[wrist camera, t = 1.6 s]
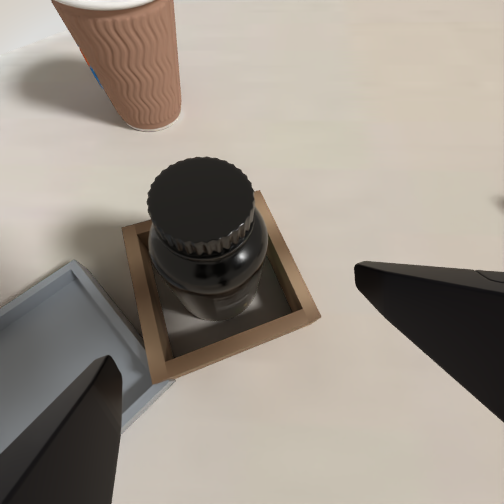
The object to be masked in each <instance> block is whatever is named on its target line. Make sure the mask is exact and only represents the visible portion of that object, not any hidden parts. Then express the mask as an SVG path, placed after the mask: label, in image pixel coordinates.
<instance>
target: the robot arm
mask: <svg viewBox="0 0 504 504" xmlns="http://www.w3.org/2000/svg"><path fill="white" fill-rule="evenodd" d="M354 273H355V284H356V287H357V288H358V290H359V291H360V292H361V293H362V294H363V295H364V296H365V297H366V298H367V299H368V301H369V302H370V303H371V304H372V305H373V306H374V307H375V308H376V309H377V310H378V311H379V312H380V313H381V314H382V315H383V316H384V317H385V318H386V319H387V320H388V321H389V322H390V323H391V324H392V325H394V326H395V327H396V328H397V329H398V330H399V331H400V332H401V333H403V334H404V335H405V336H406V337H407V338H408V339H409V340H411V341H412V342H413V343H414V344H415V345H416V346H417V347H419V348H420V349H421V350H422V351H423V352H424V353H425V354H426V355H428V356H429V357H430V358H431V359H432V360H433V361H434V362H436V363H437V364H438V365H439V366H440V367H441V368H442V369H444V370H445V371H446V372H447V373H448V374H449V375H450V376H451V377H453V378H454V379H455V380H456V381H457V382H458V383H459V384H461V385H462V386H463V387H464V388H465V389H466V390H467V391H468V392H470V393H471V394H472V395H473V396H474V397H475V398H476V399H478V400H479V401H480V402H481V403H482V404H483V405H484V406H486V407H487V408H488V409H489V410H490V411H491V412H492V413H493V414H495V415H496V416H497V417H498V418H499V419H500V420H501V421H503V422H504V272H496V271H483V270H475V271H474V270H470V269H458V268H445V267H433V266H421V265H408V264H396V263H384V262H371V261H363V262H360V263H358V264H356V265H355V267H354ZM122 388H123V379H122V375H121V372H120V370H119V369H118V367H117V365H116V363H115V361H114V360H113V358H112V357H111V356H110V355H105V356H103V357H100V358H97V359H95V360H94V361H93V362H92V363H91V364H90V365H89V366H88V367H87V368H86V369H85V370H84V371H83V372H82V373H81V374H80V375H79V376H78V377H77V378H76V379H75V380H74V381H73V382H72V383H71V384H70V385H69V386H68V387H67V388H66V389H65V390H64V391H63V392H62V393H61V394H60V395H59V396H58V397H57V398H56V399H55V400H54V401H53V402H52V403H51V404H50V405H49V406H48V407H47V408H46V409H45V410H44V411H43V412H42V413H41V414H40V415H39V416H38V417H37V418H36V419H35V420H34V421H33V422H32V423H31V424H30V425H29V426H28V427H27V428H26V429H25V430H24V431H23V432H22V433H21V434H20V435H19V436H18V437H17V438H16V439H15V440H14V441H13V442H12V443H11V444H10V445H9V446H8V447H7V448H6V449H5V450H4V451H3V452H2V453H1V454H0V504H111V503H112V496H113V488H114V481H115V474H116V466H117V459H118V452H119V444H120V437H121V426H122Z"/></svg>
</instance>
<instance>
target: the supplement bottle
mask: <svg viewBox="0 0 504 504" xmlns="http://www.w3.org/2000/svg"><path fill="white" fill-rule="evenodd" d="M147 205H148V213H149V215H150V217H151V221H152V225H151V228H150V232H149V239H148V246H149V253H150V257H151V260H152V262H153V264H154V266H155V268H156V270H157V271H158V273H159V274H160V275H161V277H162V278H163V279H164V281H165V282H166V283H167V285H168V286H169V287H170V289H171V290H172V291H173V293H174V294H175V295H176V296H177V298H178V299H179V300H180V302H181V303H182V304H183V306H184V307H185V308H186V309H187V310H188V311H189V312H190V313H192V314H193V315H195V316H197V317H198V318H201V319H204V320H208V321H224V320H228V319H231V318H234V317H236V316H237V315H239V314H241V313H242V312H243V311H244V310H245V309H246V308H247V307H248V306H249V305H250V304H251V302H252V301H253V299H254V297H255V294H256V292H257V288H258V285H259V281H260V277H261V273H262V269H263V265H264V261H265V257H266V253H267V247H268V232H267V228H266V224H265V221H264V219H263V217H262V215H261V214H260V212H259V211H258V209H257V208H256V207H255V198H254V190H253V188H252V184H251V182H250V181H249V180H248V178H247V176H246V175H245V174H243V173H242V171H241V170H240V169H238V168H236V167H235V166H234V165H233V164H230V163H228V162H227V161H224V160H219V159H218V158H210V157H203V158H202V157H195V158H188V159H186V160H184V161H178V162H177V163H175V164H173V165H170V166H169V167H168V168H167V169H165V170H163V171H162V172H161V174H160V175H159V176H157V177H156V178H155V181H154V182H153V183H152V184H151V189H150V191H149V192H148V199H147Z"/></svg>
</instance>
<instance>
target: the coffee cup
mask: <svg viewBox="0 0 504 504" xmlns="http://www.w3.org/2000/svg"><path fill="white" fill-rule="evenodd" d="M52 3H53V5H54V7H55V8H56V10H57V12H58V13H59V15H60V17H61V18H62V20H63V22H64V23H65V25H66V27H67V28H68V30H69V32H70V33H71V35H72V37H73V38H74V40H75V42H76V43H77V45H78V47H79V48H80V51H81V53H82V55H83V56H84V58H85V60H86V62H87V64H88V65H89V67H90V69H91V71H92V72H93V74H94V76H95V78H96V79H97V81H98V83H99V84H100V86H101V87H102V88H103V89H104V90H105V92H106V94H107V95H108V97H109V99H110V100H111V102H112V104H113V105H114V107H115V109H116V110H117V112H118V113H119V115H120V116H121V117H122V118H123V120H124V121H125V122H126V124H128V125H129V126H130V127H132V128H134V129H137V130H140V131H150V132H152V131H159V130H163V129H165V128H168V127H169V126H171V125H172V124H174V123H175V122H176V121H177V120H178V118H179V116H180V113H181V90H180V77H179V64H178V52H177V40H176V26H175V14H174V2H173V0H52Z"/></svg>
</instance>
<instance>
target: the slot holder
mask: <svg viewBox="0 0 504 504" xmlns="http://www.w3.org/2000/svg"><path fill="white" fill-rule="evenodd" d="M254 198H255V207H256V208H257V209H258V211H259V212H260V214H261V215H262V217H263V219H264V221H265V224H266V228H267V232H268V247H267V253H266V254H267V256H268V258H269V261H270V263H271V265H272V267H273V270H274V272H275V274H276V277H277V279H278V281H279V283H280V286H281V288H282V290H283V292H284V295H285V297H286V299H287V301H288V304H289V306H290V308H291V310H292V313H291V314H288V315H285V316H283V317H280V318H278V319H275V320H273V321H270V322H267V323H265V324H262V325H260V326H257V327H254V328H252V329H249V330H247V331H244V332H241V333H239V334H236V335H234V336H231V337H229V338H226V339H223V340H221V341H218V342H216V343H213V344H210V345H208V346H205V347H203V348H200V349H197V350H195V351H192V352H190V353H187V354H184V355H182V356H179V357H177V358H173V354H172V350H171V345H170V341H169V337H168V333H167V328H166V324H165V320H164V316H163V311H162V307H161V303H160V299H159V294H158V290H157V286H156V282H155V277H154V273H153V269H152V265H151V260H150V256H149V252H148V251H149V246H148V239H149V232H150V228H151V225H152V221H151V220H148V221H144V222H141V223H137V224H133V225H130V226H126V227H122V232H123V238H124V243H125V248H126V253H127V258H128V263H129V268H130V273H131V278H132V283H133V289H134V294H135V299H136V304H137V309H138V314H139V319H140V324H141V329H142V334H143V340H144V345H145V350H146V355H147V360H148V365H149V370H150V375H151V380H152V385H153V384H158V383H161V382H163V381H166V380H169V379H176V378H178V377H181V376H183V375H186V374H188V373H191V372H193V371H196V370H198V369H201V368H203V367H206V366H208V365H211V364H213V363H216V362H218V361H221V360H223V359H226V358H228V357H231V356H233V355H236V354H238V353H241V352H243V351H246V350H248V349H251V348H253V347H256V346H258V345H260V344H263V343H265V342H268V341H270V340H273V339H275V338H278V337H280V336H283V335H285V334H288V333H290V332H293V331H295V330H298V329H300V328H303V327H305V326H308V325H310V324H312V323H313V322H315V321H316V320H318V319H319V318H321V315H320V313H319V311H318V309H317V307H316V305H315V303H314V300H313V298H312V296H311V294H310V292H309V290H308V288H307V286H306V284H305V282H304V280H303V278H302V276H301V274H300V272H299V270H298V268H297V266H296V264H295V261H294V259H293V257H292V255H291V253H290V251H289V249H288V247H287V245H286V243H285V241H284V239H283V237H282V235H281V233H280V231H279V229H278V227H277V224H276V222H275V220H274V218H273V216H272V214H271V212H270V210H269V208H268V206H267V204H266V202H265V200H264V198H263V196H262V194H261V192H260V190H259V191H255V192H254Z"/></svg>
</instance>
